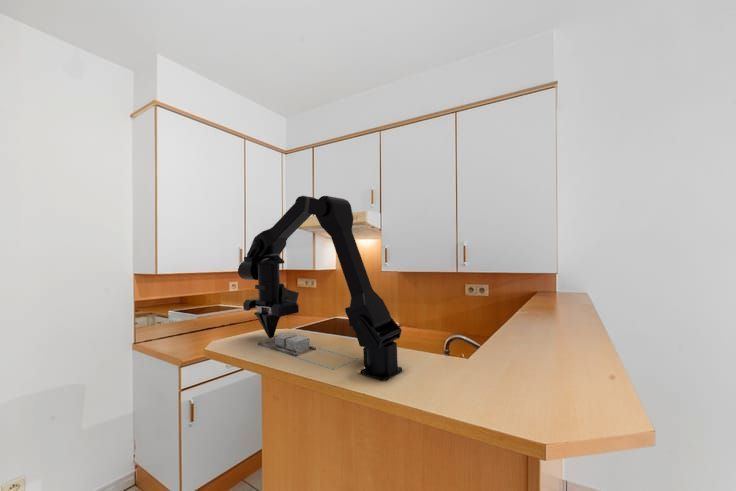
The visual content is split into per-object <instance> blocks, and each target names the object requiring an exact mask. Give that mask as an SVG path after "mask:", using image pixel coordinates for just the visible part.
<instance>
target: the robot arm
mask: <svg viewBox="0 0 736 491" xmlns="http://www.w3.org/2000/svg"><path fill="white" fill-rule="evenodd" d="M312 215H315V217H316V219H317V222H318V223H319V225H320V228H322V229H323V230H324V231H325V232H326V233H327V234H328V236H330V239H331V241H332V243H333V247H334V250H335V253H336V256H337V259H338V262H339V264H340V267H341V271H342V274H343V276H344V280H345V283H346V285H347V288H348V290H349V293H350V294H349V295H350V303H349V306H347V307H344V308H345V309H344V311H345V314H346V316H347V318H348V324H349V325H348V326H349V327H350V328H351V327H352V331H353V332H354V333H355V336H356V339H357V343H358V345H359V347H363V349H362V350H363V367H364V368H362V369H361V370H360V372H359V373H360V374H361V375H365V376H368V377H370V378H375V379H377V380H381V381H387V380H388V379H390V378H392V377H393V376H395V375H397V374H399V373H400V372H402V371H403V367H401V366H398V363H399V362H398V343H397V342H396V340H399V339H400V338H401V336H402V334H401V333H402V328H401V327H400V326H399V325H398V324H397V322H396V321H395V320H394V319H393V317H391V313H390V311H389V309H388V307H387V305H386V304H385V302H384V300H383V299H382V298H381V296H379V294H378V293H377V292H376V291H374V289H373V287H372V283H371V281H370V279H369V276H368V275H369V274H368V273H367V270H366V266H365V264H364V262H363V259H362V255H361V253H360V250H359V247H358V244H357V242H356V239H355V235H354V233H353V224H354V214H353V210H352V205H351V203H350V202H349V200H347V199H345V198H342V197H336V196H330V195H322V196H320V197H319V198H316V197H312V196H307V195H301V196H298V197H297V198H296V199H295V202H294V203H293V204H292V205H291V207H290V208H289V209H287V211H286V212H285V213H284V214H283V215H282V216H281V218H280V219H279V220H278V221H277V222H276V223H275V224H274V225H273V226H272V227H270V228H268V229H265V230H263V231H261V232H259V233H258V234H257V235H255V236H254V238H253V240H252V242H251V245H250V247H249V250H248V252H247V253H246V256H244V257H243V260H242V261H241V262H240V264H239V266H238V268H237V273H238V276H239V277H240V278H241V279H242V280H247V281H249V280H250V281H258V282H257V284H255V285H254V289H256V290H258V297H254V298H250V299H249V298H248V299H245V301H243V304H242V306H243V307H242V308H243V310H244V311H251V310H252V309H255V308H256V312H254V313H253V315H254V316H256V318H257V320H258V321H259V323H260V324H261V326H262V328H263V330H264V332H265V334H266V336H267V337H268V338H269V339H273V338H275V335H276V334H275V333H276V331H277V330H276V329H277V326H278V324H279V321H280V318H282V317H284V316H289V315H294V314H299V313H300V304H298V300H299V296H300V293H299V292H298V291H294V290H290V289H287V287H285V284H284V283H283V282H282V283H281V279H280V278H281V276H280V275H281V274H280V264H285V260H284V259H283V258H281V256H280V255H281V253H282V252H283V251H284V250H285V248H286V247H287V241H288V239H289V238H290V237H291V236H292V235H293V234H294V233H295V232H296V231H297V229H299V228H300V227H301V226H302V225H303V224H304V223H305V222H306V221H307V220H308V219H309V218H310V217H311V216H312ZM378 333H379V334H378Z"/></svg>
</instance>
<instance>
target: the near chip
mask: <svg viewBox="0 0 736 491" xmlns="http://www.w3.org/2000/svg"><path fill="white" fill-rule="evenodd" d="M309 345H310V337H306V336H304V335H303V336H302V335H297V336H296V337H292V338H289V339H286V350H288V351H291V352H294V353H297V354H299V353H302V352H305V351H308V350H310V347H309Z"/></svg>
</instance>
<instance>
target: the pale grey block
mask: <svg viewBox="0 0 736 491" xmlns="http://www.w3.org/2000/svg"><path fill="white" fill-rule="evenodd" d="M296 336H298V334H296V333H291V332H285V333H282V334H277V335H274V340H275V347H278V348H281V349H285V350H286V339H289V338H292V337H296Z"/></svg>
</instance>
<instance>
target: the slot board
mask: <svg viewBox="0 0 736 491" xmlns="http://www.w3.org/2000/svg"><path fill="white" fill-rule="evenodd" d="M257 345H258V346H259V347H264V348H267V349H270V350H271V351H272V350H273V351H275V352H278V353H282V354H284V355H288V356H291V357H294V358H296V357H299V356H302V355H304V354H307V353H310V352H313V351H316V350H317V347H316V346H312V345H310V344H309V347H310V350H308V351H305V352H302V353H299V354H297V353H294V352H291V351H288V350H285V349H281V348H278V347H275V339H273V340H269V341H266V342H261V341H258V342H257Z"/></svg>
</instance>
